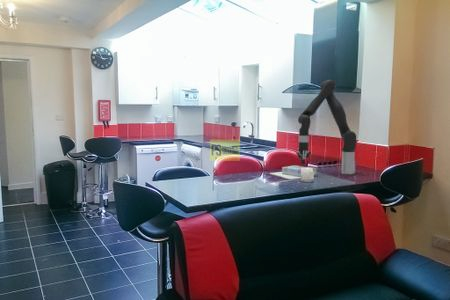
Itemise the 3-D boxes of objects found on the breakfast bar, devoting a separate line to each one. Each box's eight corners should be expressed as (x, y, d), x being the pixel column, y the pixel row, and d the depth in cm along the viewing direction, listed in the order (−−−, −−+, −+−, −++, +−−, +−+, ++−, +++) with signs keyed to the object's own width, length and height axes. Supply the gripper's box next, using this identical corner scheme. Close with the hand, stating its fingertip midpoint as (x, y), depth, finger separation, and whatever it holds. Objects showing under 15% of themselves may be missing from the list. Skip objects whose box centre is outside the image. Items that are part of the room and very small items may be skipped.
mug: (307, 179, 263) (307, 166, 262) (317, 182, 253) (317, 169, 252) (298, 180, 259) (298, 167, 258) (308, 183, 250) (308, 170, 249)
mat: (292, 171, 295) (292, 171, 295) (313, 177, 272) (313, 176, 272) (269, 173, 285) (269, 173, 285) (289, 179, 262) (289, 178, 262)
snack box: (293, 172, 291) (281, 173, 281) (294, 164, 291) (281, 166, 281) (316, 175, 276) (304, 177, 266) (317, 168, 275) (305, 169, 265)
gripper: (299, 142, 274) (299, 165, 276) (313, 141, 280) (313, 164, 282) (293, 141, 281) (292, 163, 283) (307, 140, 287) (306, 162, 289)
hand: (303, 163), depth 283 cm, fingers closed
